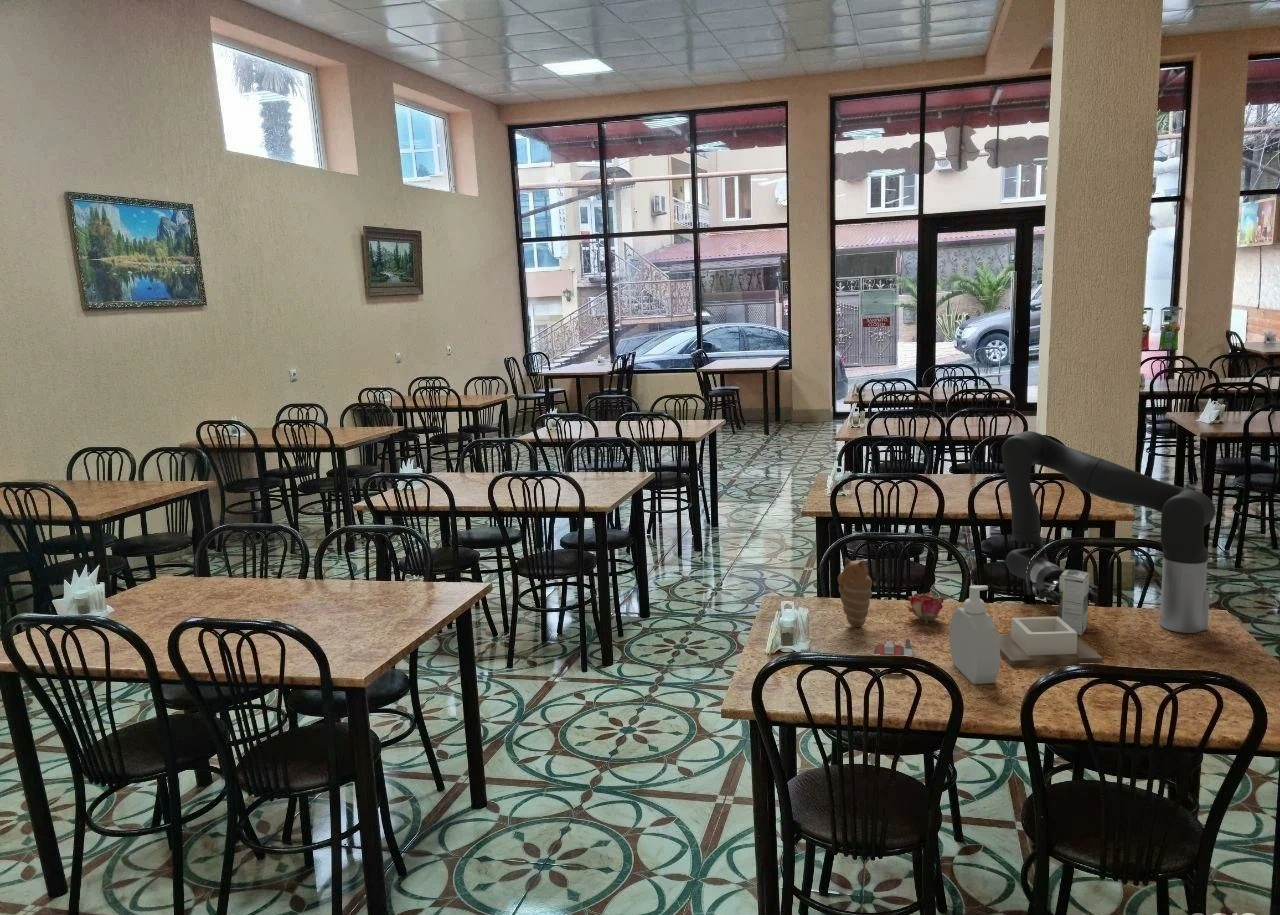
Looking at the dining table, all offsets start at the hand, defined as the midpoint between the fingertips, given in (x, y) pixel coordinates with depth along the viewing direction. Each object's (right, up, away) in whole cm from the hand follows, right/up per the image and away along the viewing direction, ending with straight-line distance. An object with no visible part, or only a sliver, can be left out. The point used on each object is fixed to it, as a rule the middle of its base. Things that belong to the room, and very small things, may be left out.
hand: (1076, 599), depth 226 cm
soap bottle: (-31, -14, -19) cm, 39 cm away
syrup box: (0, -8, +3) cm, 9 cm away
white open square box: (-12, -9, -9) cm, 18 cm away
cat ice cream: (-50, -9, +13) cm, 53 cm away
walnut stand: (-12, -11, -9) cm, 18 cm away
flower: (-32, -8, +15) cm, 36 cm away
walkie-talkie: (-46, -13, -9) cm, 49 cm away
